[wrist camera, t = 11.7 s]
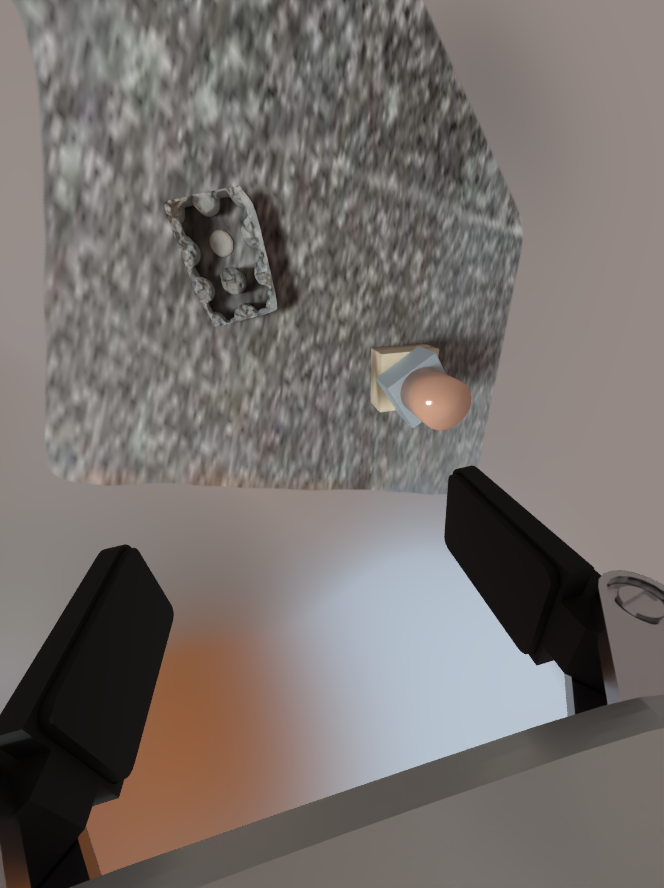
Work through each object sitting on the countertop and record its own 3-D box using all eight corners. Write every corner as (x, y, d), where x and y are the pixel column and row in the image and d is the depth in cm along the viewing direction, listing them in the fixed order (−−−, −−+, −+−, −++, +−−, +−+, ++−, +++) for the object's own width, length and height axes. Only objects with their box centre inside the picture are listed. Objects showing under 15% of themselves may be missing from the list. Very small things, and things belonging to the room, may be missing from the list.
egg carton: (169, 205, 28) (156, 193, 25) (250, 191, 29) (248, 177, 25) (211, 325, 34) (205, 330, 30) (279, 311, 34) (281, 314, 31)
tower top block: (375, 378, 36) (387, 388, 32) (418, 346, 35) (435, 352, 32) (399, 415, 39) (413, 428, 35) (439, 386, 38) (457, 396, 34)
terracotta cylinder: (401, 369, 32) (423, 382, 27) (446, 364, 32) (474, 376, 28) (399, 414, 34) (419, 433, 30) (441, 409, 35) (467, 426, 30)
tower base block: (370, 347, 38) (381, 354, 35) (423, 343, 39) (439, 349, 36) (370, 401, 41) (380, 412, 38) (418, 395, 42) (432, 405, 39)
